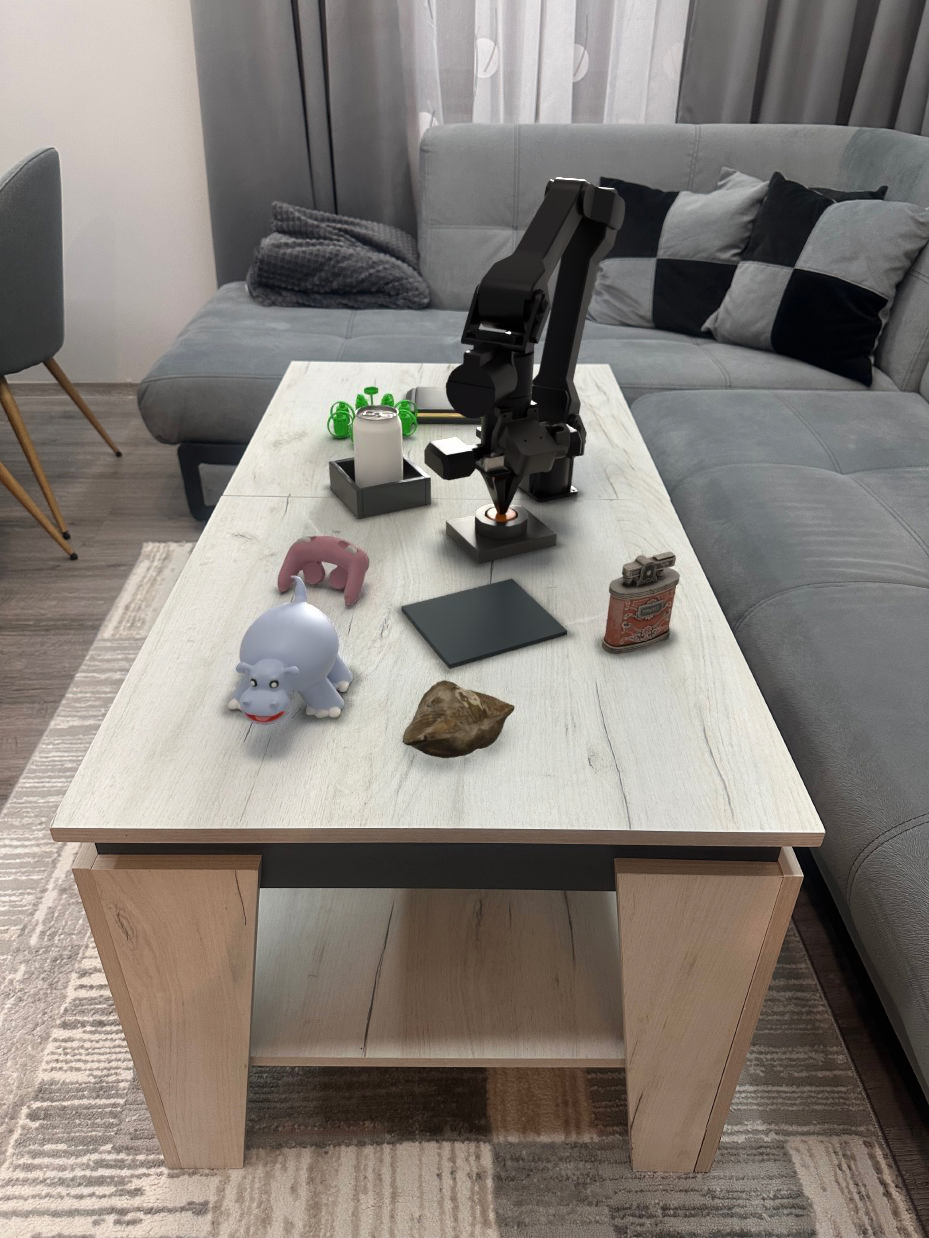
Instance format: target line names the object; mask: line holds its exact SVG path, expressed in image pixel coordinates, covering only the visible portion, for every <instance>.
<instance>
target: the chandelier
mask: <svg viewBox="0 0 929 1238" xmlns="http://www.w3.org/2000/svg"><path fill="white" fill-rule="evenodd" d="M363 393H364V394H362V393H357V395H356V399H355V404H354V407H355V408H353V407H352V405H351V404H350V403H348V402H346V401H344V400H338V401H336V402H334V403H333V404H332V405H331V407H330V409H329V410H330V411H329V413H330V416H329V417H328V419H327V421H326V422H327V423H326V429H327V431H328V433H330V435H331V436H333V437H334V438H339V439H343V438H346V437H348V436H349V437H350V441H351V444H353V421H354V419H355V417H356V414H355V412H356V410H357V409H359V408H361V407H364V406H368V405H374V395H377V394H379V387H377V386H366V387H365V388H363ZM364 395H368V396H369V397H370V398H369V399H370V404H369V402H368V399H367V398H365V396H364ZM380 401H381V402H380V404H379V405H386V406H391V407H394V408H396V409H397V408H398V409H397V410H398V416H399V418H400V420H401V423H402V437H407V438H408V437H410V436H413V435H414V434H415V433H416V431H417V428H418V424H417V420H416V418H417V414H418V410H417V407H416V405H415V404H414V403H413V402H412V401H409V400H406V399H402V400H399V401H398V402H397V403H396V404H395V399H394V396H393V394H392V393H388V392H387V393H385V394H384V395H383V396H382V398H381V399H380ZM407 402H410V403H412V404H413V405H414V407H415V410H416V412H415V416H414V415H413V414H412V412H411V408H410V405H409V404H407ZM337 404H338V405H337ZM335 405H337V406H336V407H335ZM334 407H335V408H336V409H335V411H334V412H333V409H334ZM354 409H355V410H354ZM350 411H351V414H350ZM412 418H413V420H412ZM331 420H332V421H333V432H334V433H333V432H332V431H331V429H330V422H331ZM413 422H415V424H414V429H413V431H412V425H413V424H412V423H413ZM349 427H350V428H349Z"/></svg>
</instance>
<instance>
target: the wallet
mask: <svg viewBox="0 0 929 1238" xmlns="http://www.w3.org/2000/svg"><path fill="white" fill-rule="evenodd" d="M405 400H409V401H412V402H413V403H414V404H415V405H416V407H417V410H418V414H417V418H416V420H417V425H421V424H423V425H424V424H425V425H427V424H428V425H431V424H435V425H436V424H437V425H441V424H442V425H481V417H480V418H473V419H471V418H467V417H464V416H462V415H460V414H459V413H458V412H456V411H455V410H454V409H453V407H452V406H451V404H450V403H449V401H448V398H447V395H446V386H416V387H412V388H411V389H408V391H406V396H405ZM407 404H409V405H410V408H411V412H412V414H413V415H414V416H415V412H416V410H415V407H414V405H413V404H412V403H410V402H407ZM412 420H413V418H412ZM413 424H414V425H415V422H413V423H412V424H411V425H413Z"/></svg>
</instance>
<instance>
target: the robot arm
mask: <svg viewBox="0 0 929 1238" xmlns="http://www.w3.org/2000/svg"><path fill="white" fill-rule="evenodd" d="M625 215H626V202H625V199H624V198H623V197H622V196H620V195H619V192H618V190H617V189H616V188H614V187H613V188H612V187H601V186H596V185H595V184H593V183H592V182H588V181H587V180H586V179H577V178H563V177H555V178H554V179H549V180H548V181H547V183H546V185H545V189H544V195H543V200H542V201H541V203H540V205H539V206H538V209H536V212H535V213H534V215H533V217H532V219H531V221H530V222H529V224H528V226H527V227H526V230H525V231H524V233H523V234H522V236H521V238H520V240H519V242H518V244H517V246H516V247H515V248H514V251H512V253H511V254H510V255H509V256H506V257H504V258H502V259H500V260H498V261H496V262H494V263H493V264H492V265H491V267H490V268H489V269H488V270H487V272H486V273H485V274H484V275H483V276H482V278H481V280H480V281H479V282H478V283H477V285H476V286H475V289H474V292H473V295H472V298H471V303H470V306H469V309H468V312H467V316H466V320H465V323H464V327H463V330H462V334H461V338H460V343H461V344H462V345H467V346H472V348H471V349H468V350H466V351H464V352H463V355H462V356H463V357H462V359H463V361H462V363H460V364H459V365H458V366H456V367H455V368H454V369H453V370H451V372H450V373H449V374H448V377H447V380H446V382H445V387H446V395H447V398H448V401H449V403H450V404H451V406H452V407H453V409H454V410H455V411H456V412H458V413H459V414H460V415H462V416H464V417H467V418H471V419H473V418H480V417H481V424H480V426H478V427H475V437H476V438H478V439H479V440H480V443H475V444H470V445H467V444H465V443H464V442H463V441H461V440H460V439H459V438H458V437H456V436H454V437H448V438H441V439H437V440H430V441H429V442H428V443H427V445H426V446H425V448H424V450H423V453H424V454H423V455H424V456H423V457H424V458H423V461H424V462H423V463H424V464H425V465H426V467H428V468H429V469H430V470H431V471H432V472H433V473H435V474H436V475H437V476H439V478H441V479H442V480H445V481H453V480H460V479H465V478H469V477H471V476H472V475H473V473H474V472H475V471H476V470H477V471H478V472H479V473H480V475H481V477H482V478H483V481H484V484H485V486H486V488H487V491H488V493H489V495H490V498H491V501H492V503H494V506H495V508H496V511H497V512H498V513H499V514H500V515H502V514H506V513H507V511H508V509H509V506H510V504H512V501H513V500H514V497H515V495H516V493H517V491H518V488H520V489H521V490H522V491H524V492H525V493H526V494H528V495H529V496H530V497H531V498H533V499H534V500H535V501H537V502H547V501H551V500H556V499H560V498H564V497H570V496H575V495H577V494H578V491H579V490H578V489H577V488H576V487H574V486H573V474H574V463H575V459H576V457H583V456H584V455H585V451H586V450H585V449H586V445H587V444H586V443H587V429H586V427H585V424H584V422H583V419H582V417H581V415H580V412H581V406H582V403H581V399H580V397H579V394H578V390H577V388H576V385H575V382H574V380H575V375H576V369H577V364H578V359H579V354H580V350H581V349H580V348H581V344H582V339H583V335H584V330H585V326H586V325H585V324H586V320H587V315H588V310H589V306H590V300H591V296H592V290H593V285H594V282H595V281H594V280H595V277H596V271H597V267H598V265H599V264H600V263H601V262H602V261H603V259H604V258H605V257H606V256H607V255H608V253H609V252H610V251H611V250H612V249H613V247H614V246H615V242H616V238H617V234H618V231H619V230H620V229H622V226H623V223H624V219H625ZM558 264H559V266H558ZM557 266H558V272H557V276H556V281H555V286H554V292H553V296H552V302H551V301H550V292H549V281H550V278H551V277H552V275H553V273H554V271H555V269H556V268H557ZM547 320H548V322H547ZM546 323H547V326H546ZM481 325H482V327H483V328H487V329H482V328H480V327H481ZM545 326H546V327H547V328H546V334H545V337H544V338H545V339H544V343H543V349H542V354H541V358H540V364H539V369H538V373H537V374H536V375H535V377H534V365H535V345H538V344H539V343H540V340H541V337H542V336H543V335H542V334H543V331H544V329H545ZM488 329H493V330H488ZM495 330H501V331H495Z"/></svg>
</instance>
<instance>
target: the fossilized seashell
mask: <svg viewBox="0 0 929 1238" xmlns="http://www.w3.org/2000/svg"><path fill="white" fill-rule="evenodd" d="M515 707H516V706H515V705H514V704H510V703H509V702H507V701H504V700H502V699H500V698H498V697H495V696H493V695H489V694H487V693H483V692H480V691H476V690H475V691H474V690H471V689H467V688H463V687H461V686H460V685H458V684H456V683H455V682H453V681H449V680H445V679H444V680H443V679H442V680H440V681H437V682H436V683H435V684H433V685H431V686H430V688H429V689H428V690H427V691H426V692H425V693H423V696H422V697H421V699H420V701H419V702H418V705H417V709H416V711H415V712H414V713H415V714H414V715H413V717H412V720H411V722H410V723H409V724H408V726H407V727H406V728H405V730H404V733H403V734H402V744H404V745H405V746H410V747H412V748H414V749H415V750H417V751H418V752H420V753H422V754H424V755H427V756H430V757H434V758H439V759H454V758H458V757H459V758H460V757H465V756H467V755H470V754H472V753H474V752H475V751H477V750H484V749H487V748H489V747H490V746H491V745H493V744H494V743H495V742H496V741H497V740H498V738H499V737H500V735H501V733H502V730H503V728H504V725H505V723H506V720H507V719H508V717H509V716H511V714H512V713H514V711H515Z"/></svg>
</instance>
